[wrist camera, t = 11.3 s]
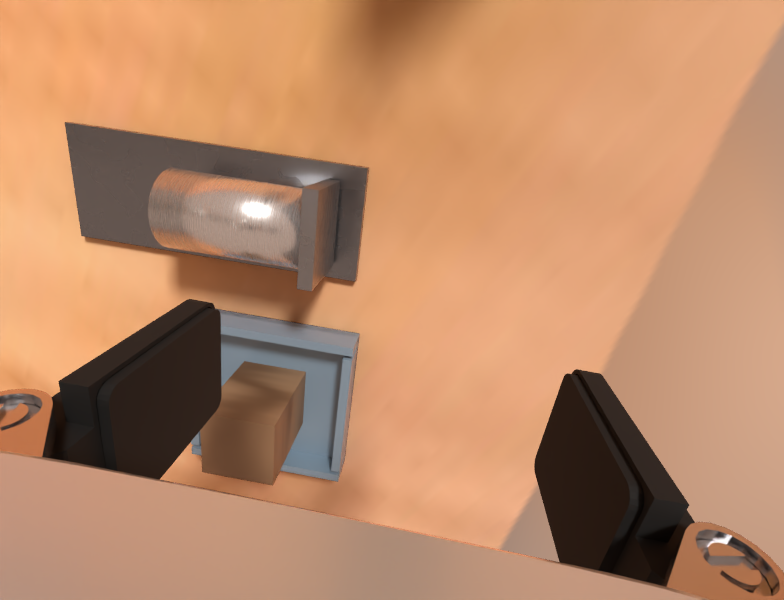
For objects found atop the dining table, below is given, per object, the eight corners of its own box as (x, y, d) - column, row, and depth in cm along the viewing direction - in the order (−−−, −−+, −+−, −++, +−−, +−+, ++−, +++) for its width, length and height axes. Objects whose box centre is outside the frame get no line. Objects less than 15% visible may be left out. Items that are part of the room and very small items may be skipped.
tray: (207, 434, 33) (192, 453, 31) (202, 306, 29) (184, 319, 27) (344, 460, 33) (338, 481, 31) (359, 333, 29) (353, 348, 27)
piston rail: (87, 234, 28) (81, 236, 28) (71, 122, 25) (64, 122, 25) (356, 279, 27) (355, 281, 27) (369, 167, 25) (367, 168, 24)
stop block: (244, 412, 31) (202, 471, 26) (244, 361, 30) (199, 412, 24) (302, 423, 31) (273, 485, 26) (305, 371, 29) (274, 426, 24)
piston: (197, 243, 27) (150, 264, 22) (194, 158, 25) (142, 162, 20) (332, 266, 26) (311, 291, 22) (340, 181, 24) (318, 190, 20)
